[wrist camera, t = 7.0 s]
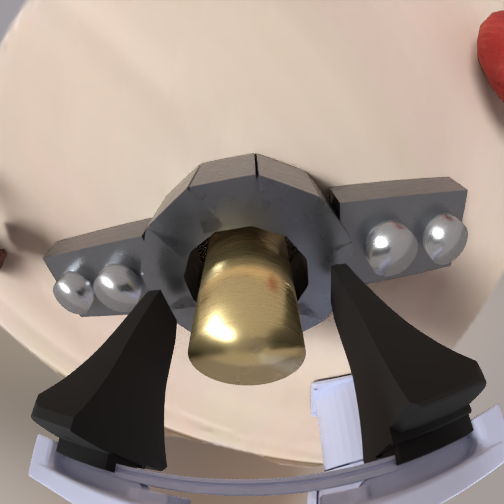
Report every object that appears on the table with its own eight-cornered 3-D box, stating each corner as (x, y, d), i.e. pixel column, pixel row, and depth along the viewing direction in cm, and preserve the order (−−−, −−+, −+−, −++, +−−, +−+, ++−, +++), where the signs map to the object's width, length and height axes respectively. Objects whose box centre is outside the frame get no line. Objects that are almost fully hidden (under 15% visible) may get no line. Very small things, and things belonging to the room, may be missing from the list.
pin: (286, 271, 16) (302, 381, 10) (216, 276, 16) (203, 386, 10) (283, 207, 13) (308, 316, 8) (203, 215, 14) (172, 324, 8)
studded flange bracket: (430, 274, 16) (449, 304, 14) (104, 319, 18) (91, 350, 16) (451, 140, 11) (487, 158, 8) (42, 212, 13) (14, 238, 10)
